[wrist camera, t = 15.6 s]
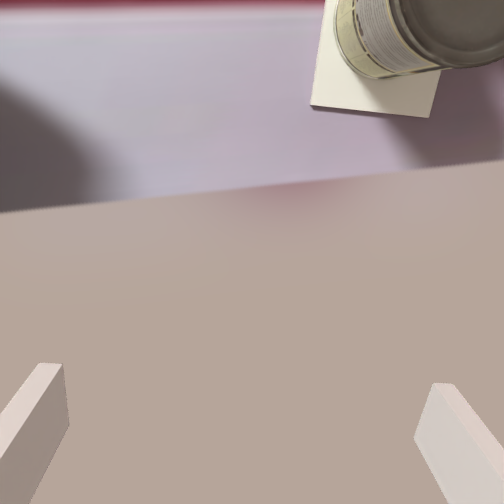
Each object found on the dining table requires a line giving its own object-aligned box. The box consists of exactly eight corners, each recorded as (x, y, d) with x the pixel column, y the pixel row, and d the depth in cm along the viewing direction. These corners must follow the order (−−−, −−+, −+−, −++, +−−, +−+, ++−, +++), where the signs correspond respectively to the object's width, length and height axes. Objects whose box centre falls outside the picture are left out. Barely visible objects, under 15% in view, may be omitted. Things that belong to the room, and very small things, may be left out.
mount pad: (309, 104, 36) (310, 104, 36) (335, -65, 31) (336, -68, 31) (425, 117, 37) (428, 117, 37) (468, -45, 32) (472, -48, 32)
